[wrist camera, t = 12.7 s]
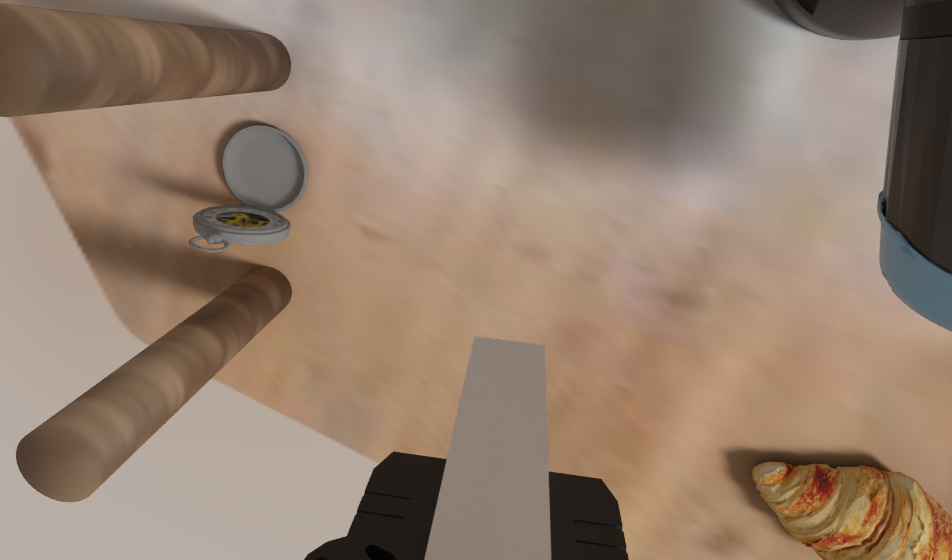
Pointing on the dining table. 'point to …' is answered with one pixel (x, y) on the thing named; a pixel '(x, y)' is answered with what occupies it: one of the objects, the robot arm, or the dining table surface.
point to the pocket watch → (255, 189)
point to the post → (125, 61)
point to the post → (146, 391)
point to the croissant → (856, 512)
